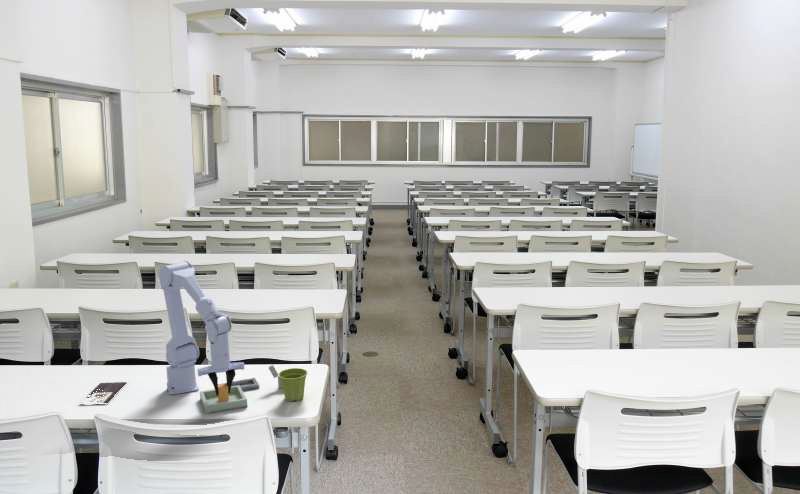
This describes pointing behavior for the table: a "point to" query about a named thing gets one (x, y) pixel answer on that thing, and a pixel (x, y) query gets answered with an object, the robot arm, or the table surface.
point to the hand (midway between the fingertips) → (222, 393)
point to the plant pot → (293, 383)
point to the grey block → (275, 375)
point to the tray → (213, 405)
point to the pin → (223, 393)
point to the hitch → (246, 381)
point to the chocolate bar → (106, 391)
